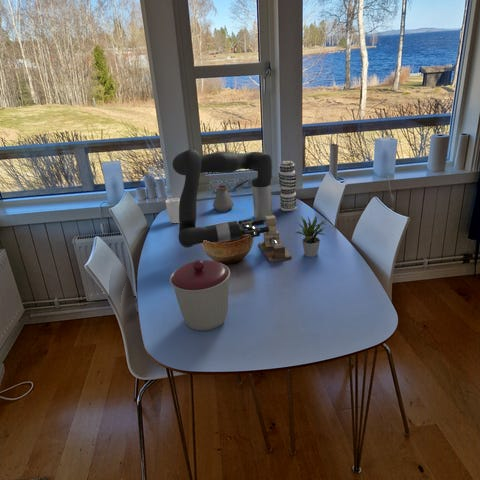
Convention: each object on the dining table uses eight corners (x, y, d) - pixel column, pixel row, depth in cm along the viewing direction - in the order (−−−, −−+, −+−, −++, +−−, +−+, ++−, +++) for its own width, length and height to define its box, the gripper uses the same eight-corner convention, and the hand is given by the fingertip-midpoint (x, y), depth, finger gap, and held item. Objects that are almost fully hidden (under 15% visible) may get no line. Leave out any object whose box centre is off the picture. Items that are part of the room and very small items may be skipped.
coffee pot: (214, 214, 217) (210, 187, 210) (212, 207, 227) (209, 181, 221) (253, 209, 218) (251, 182, 212) (250, 202, 229) (248, 177, 223)
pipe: (266, 237, 174) (266, 232, 173) (271, 236, 174) (270, 231, 174) (277, 252, 160) (276, 247, 159) (282, 251, 160) (282, 246, 159)
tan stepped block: (264, 244, 171) (262, 216, 166) (277, 242, 172) (276, 214, 167) (266, 247, 169) (264, 219, 164) (279, 245, 170) (278, 217, 164)
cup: (184, 224, 206) (181, 202, 201) (167, 225, 207) (163, 203, 202) (187, 218, 214) (184, 196, 210) (170, 219, 215) (166, 197, 210)
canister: (182, 344, 117) (171, 281, 109) (174, 312, 133) (163, 254, 125) (242, 329, 121) (235, 267, 113) (226, 299, 137) (220, 243, 129)
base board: (258, 244, 176) (257, 233, 174) (278, 241, 177) (277, 229, 175) (269, 262, 160) (269, 249, 157) (291, 258, 161) (291, 246, 159)
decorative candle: (276, 207, 217) (274, 161, 207) (291, 204, 221) (289, 158, 211) (285, 212, 210) (283, 164, 200) (300, 208, 213) (299, 161, 203)
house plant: (330, 263, 154) (330, 224, 148) (293, 263, 157) (292, 224, 151) (330, 247, 167) (330, 210, 160) (296, 247, 170) (295, 211, 163)
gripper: (229, 229, 156) (270, 222, 159) (223, 217, 169) (261, 211, 171) (231, 246, 159) (271, 240, 162) (225, 233, 172) (262, 227, 174)
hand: (266, 225), depth 166 cm, fingers open, 8 cm apart
